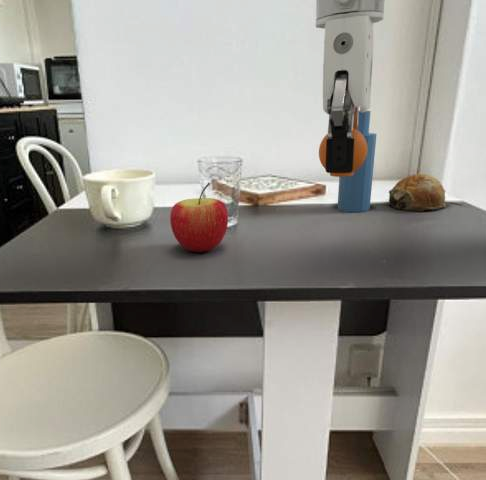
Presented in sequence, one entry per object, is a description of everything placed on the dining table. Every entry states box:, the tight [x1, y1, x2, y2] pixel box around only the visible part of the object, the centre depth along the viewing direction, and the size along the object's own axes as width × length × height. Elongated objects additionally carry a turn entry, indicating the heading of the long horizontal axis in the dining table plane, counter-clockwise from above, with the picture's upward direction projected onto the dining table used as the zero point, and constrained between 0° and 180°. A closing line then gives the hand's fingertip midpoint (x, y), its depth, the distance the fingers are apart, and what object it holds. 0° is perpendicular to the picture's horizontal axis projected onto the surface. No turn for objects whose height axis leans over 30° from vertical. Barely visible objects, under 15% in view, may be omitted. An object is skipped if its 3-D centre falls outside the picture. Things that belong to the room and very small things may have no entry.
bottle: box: [337, 110, 377, 213], centre depth 83 cm, size 6×6×18 cm
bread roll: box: [388, 173, 447, 212], centre depth 85 cm, size 10×10×8 cm
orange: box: [318, 128, 367, 178], centre depth 56 cm, size 6×6×6 cm
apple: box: [169, 182, 229, 253], centre depth 64 cm, size 8×8×10 cm
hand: (342, 166), depth 57 cm, fingers closed on orange, 6 cm apart
